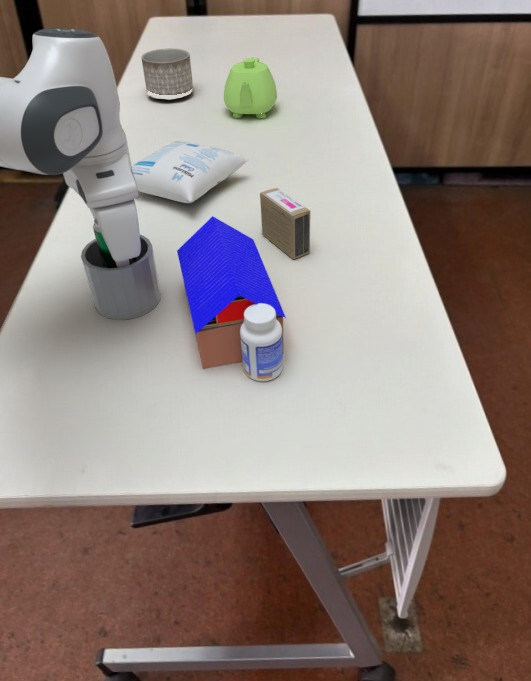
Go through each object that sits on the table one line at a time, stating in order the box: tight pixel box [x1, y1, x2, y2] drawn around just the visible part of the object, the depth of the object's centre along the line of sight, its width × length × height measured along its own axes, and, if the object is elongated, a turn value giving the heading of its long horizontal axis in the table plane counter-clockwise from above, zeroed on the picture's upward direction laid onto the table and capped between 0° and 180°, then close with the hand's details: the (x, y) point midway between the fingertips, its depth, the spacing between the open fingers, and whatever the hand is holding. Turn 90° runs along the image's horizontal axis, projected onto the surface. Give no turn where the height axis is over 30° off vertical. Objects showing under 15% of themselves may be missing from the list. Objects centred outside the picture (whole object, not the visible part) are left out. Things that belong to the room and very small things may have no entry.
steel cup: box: [80, 234, 162, 321], centre depth 87 cm, size 10×10×9 cm
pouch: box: [132, 140, 250, 204], centre depth 114 cm, size 8×19×20 cm
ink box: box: [259, 187, 311, 260], centre depth 98 cm, size 10×4×8 cm, turn 32°
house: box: [176, 215, 287, 370], centre depth 82 cm, size 12×20×12 cm, turn 13°
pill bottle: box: [240, 303, 284, 382], centre depth 74 cm, size 5×5×10 cm
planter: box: [140, 48, 194, 95], centre depth 154 cm, size 13×13×10 cm
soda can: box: [92, 218, 137, 269], centre depth 84 cm, size 5×5×12 cm
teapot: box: [223, 57, 278, 119], centre depth 143 cm, size 20×13×13 cm
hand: (117, 254), depth 84 cm, fingers closed on soda can, 5 cm apart
